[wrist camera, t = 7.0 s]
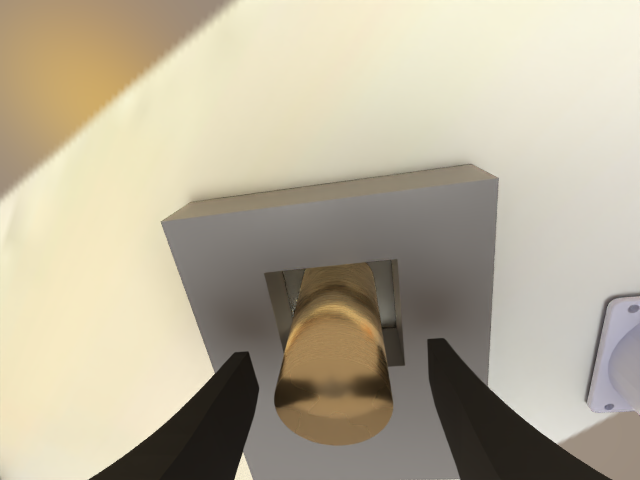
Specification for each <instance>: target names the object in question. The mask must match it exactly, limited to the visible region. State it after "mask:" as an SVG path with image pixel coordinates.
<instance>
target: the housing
mask: <svg viewBox="0 0 640 480" xmlns="http://www.w3.org/2000/svg"><path fill="white" fill-rule="evenodd" d="M498 181H499V178H497V177H495V176H494V175H492V174H490V173H488V172H486V171H484V170H482V169H480V168H478V167H476V166H474V165H472V164H468V165H461V166H454V167H446V168H439V169H432V170H424V171H417V172H409V173H402V174H395V175H387V176H380V177H373V178H365V179H358V180H350V181H343V182H336V183H328V184H321V185H314V186H306V187H299V188H291V189H284V190H277V191H269V192H262V193H255V194H247V195H240V196H233V197H225V198H218V199H210V200H203V201H196V202H190V203H189V204H187V205H186V206H184V207H182V208H181V209H179V210H178V211H176V212H175V213H173V214H172V215H170V216H169V217H167V218H166V219H164V220H163V221H161V224H162V227H163V230H164V233H165V235H166V238H167V241H168V244H169V246H170V249H171V252H172V255H173V258H174V260H175V263H176V266H177V269H178V271H179V274H180V277H181V280H182V283H183V285H184V288H185V291H186V294H187V297H188V299H189V302H190V305H191V308H192V310H193V313H194V316H195V319H196V322H197V324H198V327H199V330H200V333H201V336H202V338H203V341H204V344H205V347H206V349H207V352H208V355H209V358H210V361H211V363H212V366H213V369H214V372H215V373H216V372H217V371H218V370H219V369H220V368H221V366H222V365H223V364H224V363H225V362H226V361H227V360H228V359H229V358H230V357H231V355H232V354H233V353H234V352H245V351H249V355H250V358H251V361H252V365H253V368H254V371H255V375H256V378H257V381H258V385H259V394H258V400H257V405H256V410H255V414H254V418H253V421H252V424H251V428H250V431H249V434H248V437H247V440H246V443H245V446H244V450H243V453H244V455H245V458H246V461H247V464H248V466H249V469H250V472H251V475H252V478H253V480H448V479H460V477H459V474H458V470H457V467H456V464H455V461H454V459H453V456H452V453H451V450H450V447H449V444H448V442H447V439H446V436H445V433H444V430H443V427H442V425H441V422H440V419H439V416H438V413H437V410H436V407H435V404H434V400H433V396H432V391H431V387H430V383H429V375H428V348H427V339H433V338H444V339H446V340H447V341H448V343H449V344H450V345H451V347H452V348H453V349H454V350H455V352H456V353H457V354H458V355H459V356H460V358H461V359H462V360H463V361H464V362H465V363H466V364H467V366H468V367H469V368H470V369H471V370H472V371H473V372H474V373H475V374H476V375H477V376H478V377H479V378H480V379H481V381H482V382H483V383H484V384H485V385H486V386H487V387H488V368H489V350H490V331H491V312H492V293H493V274H494V256H495V237H496V218H497V199H498ZM383 260H391V262H392V275H393V288H394V300H395V313H396V325H397V328H386V329H382V333H383V339H384V346H385V352H386V359H387V365H388V372H389V378H390V385H391V391H392V398H393V412H392V416H391V418H390V420H389V422H388V424H387V425H386V426H385V428H384V429H383V430H382V431H380V432H379V433H378V434H377V435H375V436H374V437H372V438H370V439H368V440H365V441H363V442H360V443H356V444H351V445H343V446H333V445H324V444H319V443H315V442H312V441H309V440H307V439H305V438H302V437H300V436H299V435H297V434H295V433H294V432H293V431H291V430H290V429H289V428H288V427H287V426H286V425H285V424H284V423H283V422H282V420H281V419H280V417H279V416H278V414H277V411H276V409H275V404H274V394H275V389H276V385H277V381H278V377H279V373H280V369H281V365H282V361H283V357H284V353H285V349H286V345H287V340H288V336H289V332H290V328H291V324H292V320H293V317H292V313H291V308H290V304H289V299H288V295H287V290H286V286H285V281H284V277H283V272H282V271H286V270H296V269H305V268H315V267H325V266H334V265H344V264H354V263H363V262H373V261H383Z"/></svg>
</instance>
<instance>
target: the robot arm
mask: <svg viewBox="0 0 640 480" xmlns="http://www.w3.org/2000/svg"><path fill="white" fill-rule="evenodd" d="M631 305H632V307H630V306H631ZM629 307H630V308H629ZM427 348H428V375H429V383H430V387H431V391H432V396H433V400H434V404H435V407H436V410H437V413H438V416H439V419H440V422H441V425H442V427H443V430H444V433H445V436H446V439H447V442H448V444H449V447H450V450H451V453H452V456H453V459H454V461H455V464H456V467H457V470H458V474H459V477H460V480H612V479H610V478H608V477H606V476H605V475H603V474H601V473H600V472H598V471H596V470H595V469H593V468H591V467H590V466H588V465H587V464H585V463H584V462H582V461H581V460H579V459H577V458H576V457H574V456H573V455H571V454H570V453H568V452H567V451H566V450H564V449H563V448H561V447H560V446H559V445H557V444H556V443H554V442H553V441H552V440H550V439H549V438H547V437H546V436H545V435H543V434H542V433H540V432H539V431H538V430H537V429H535V428H534V427H533V426H532V425H530V424H529V423H528V422H526V421H525V420H524V419H523V418H522V417H520V416H519V415H518V414H517V413H516V412H514V411H513V410H512V409H511V408H510V407H509V406H508V405H506V404H505V403H504V402H503V401H502V400H501V399H500V398H499V397H498V396H497V395H496V394H495V393H494V392H493V391H491V390H490V389H489V388H488V387H487V386H486V385H485V384H484V383H483V382H482V381H481V379H480V378H479V377H478V376H477V375H476V374H475V373H474V372H473V371H472V370H471V369H470V368H469V367H468V366H467V364H466V363H465V362H464V361H463V360H462V359H461V358H460V356H459V355H458V354H457V353H456V352H455V350H454V349H453V348H452V347H451V345H450V344H449V343H448V341H447V340H446V339H444V338H433V339H427ZM258 394H259V385H258V381H257V378H256V375H255V371H254V368H253V365H252V361H251V358H250V355H249V351H245V352H234V353H233V354H232V355H231V357H230V358H229V359H228V360H227V361H226V362H225V363H224V364H223V365H222V366H221V368H220V369H219V370H218V371H217V372H216V373H215V374H214V375H213V376H212V377H211V379H210V380H209V381H208V382H207V383H206V384H205V385H204V386H203V387H202V388H201V389H200V390H199V391H198V392H197V393H196V394H195V395H194V396H193V397H192V398H191V399H190V400H189V401H188V402H187V403H186V404H185V405H184V406H183V407H182V408H181V409H180V410H179V411H178V412H177V413H176V414H175V415H174V416H173V417H172V418H171V419H170V420H168V421H167V422H166V423H165V424H164V425H163V426H161V427H160V428H159V429H158V430H157V431H156V432H154V433H153V434H152V435H151V436H149V437H148V438H147V439H146V440H144V441H143V442H142V443H140V444H139V445H138V446H136V447H135V448H134V449H133V450H131V451H130V452H129V453H127V454H126V455H125V456H123V457H122V458H120V459H119V460H117V461H116V462H115V463H113V464H112V465H110V466H109V467H107V468H106V469H104V470H103V471H101V472H100V473H98V474H97V475H95V476H93V477H92V478H90V479H89V480H234V479H235V475H236V472H237V468H238V465H239V462H240V459H241V456H242V453H243V450H244V446H245V443H246V440H247V437H248V434H249V431H250V428H251V424H252V421H253V418H254V414H255V410H256V405H257V400H258ZM587 405H588V406H589V408H590V409H591V410H592V411H593V412H598V413H601V412H625V411H636V412H637V413H638V414H639V415H640V296H636V297H624V298H617V299H614V300H612V301H611V302H610V303H609V304H608V306H607V311H606V316H605V320H604V325H603V330H602V334H601V339H600V344H599V349H598V353H597V358H596V363H595V368H594V372H593V377H592V382H591V386H590V391H589V396H588V401H587Z"/></svg>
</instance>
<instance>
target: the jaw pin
mask: <svg viewBox="0 0 640 480" xmlns="http://www.w3.org/2000/svg"><path fill="white" fill-rule="evenodd" d="M274 404H275V409H276V411H277V414H278V416H279V417H280V419H281V420H282V422H283V423H284V424H285V425H286V426H287V427H288V428H289V429H290V430H291V431H293V432H294V433H295V434H297V435H299V436H300V437H302V438H305V439H307V440H309V441H312V442H315V443H319V444H324V445H333V446H343V445H351V444H356V443H360V442H363V441H365V440H368V439H370V438H372V437H374V436H375V435H377V434H378V433H379V432H380V431H382V430H383V429H384V428H385V426H386V425H387V424H388V422H389V420H390V418H391V416H392V412H393V398H392V391H391V385H390V378H389V372H388V365H387V359H386V352H385V346H384V339H383V333H382V326H381V320H380V314H379V307H378V301H377V294H376V288H375V281H374V276H373V273H372V270H371V269H370V267H369V266H368V264H367V263H366V262H363V263H354V264H344V265H334V266H325V267H315V268H306V270H305V272H304V275H303V279H302V283H301V287H300V292H299V296H298V300H297V304H296V308H295V312H294V316H293V320H292V324H291V328H290V332H289V336H288V340H287V345H286V349H285V353H284V357H283V361H282V365H281V369H280V373H279V377H278V381H277V385H276V389H275V394H274Z"/></svg>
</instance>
